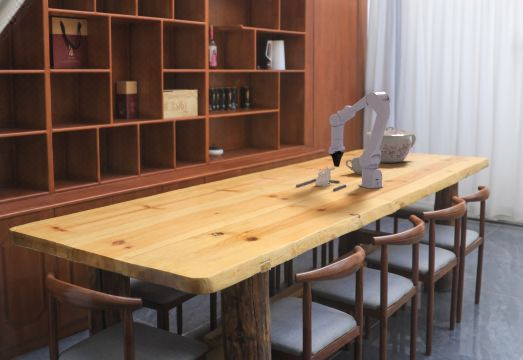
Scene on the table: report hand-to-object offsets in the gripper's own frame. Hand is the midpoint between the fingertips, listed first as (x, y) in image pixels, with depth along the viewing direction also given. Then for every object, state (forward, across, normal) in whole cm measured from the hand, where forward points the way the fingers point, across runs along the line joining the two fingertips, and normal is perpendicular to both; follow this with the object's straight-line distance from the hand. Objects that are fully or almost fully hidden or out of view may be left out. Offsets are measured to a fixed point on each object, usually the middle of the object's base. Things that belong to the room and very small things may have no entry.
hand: (336, 166), depth 320 cm
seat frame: (+7, +13, 0) cm, 15 cm away
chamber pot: (+8, -77, -1) cm, 77 cm away
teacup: (+8, -27, 0) cm, 28 cm away
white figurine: (+8, +11, 0) cm, 14 cm away
